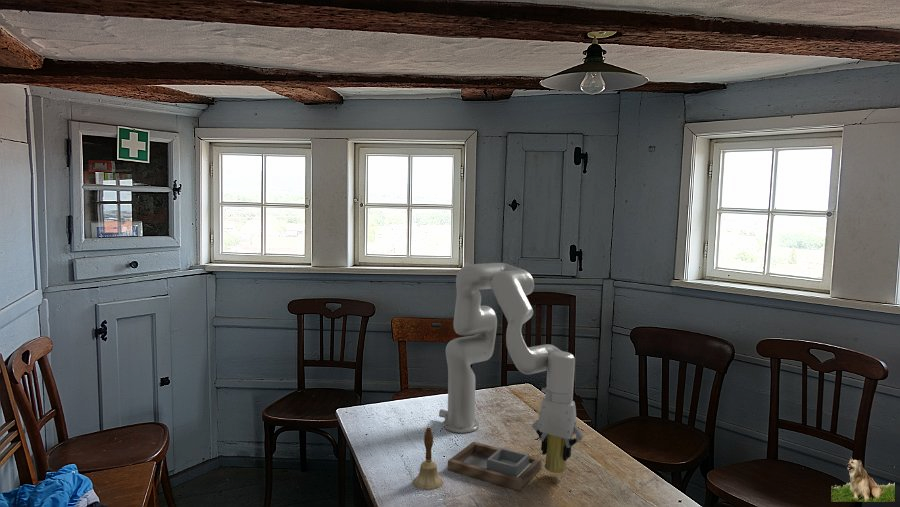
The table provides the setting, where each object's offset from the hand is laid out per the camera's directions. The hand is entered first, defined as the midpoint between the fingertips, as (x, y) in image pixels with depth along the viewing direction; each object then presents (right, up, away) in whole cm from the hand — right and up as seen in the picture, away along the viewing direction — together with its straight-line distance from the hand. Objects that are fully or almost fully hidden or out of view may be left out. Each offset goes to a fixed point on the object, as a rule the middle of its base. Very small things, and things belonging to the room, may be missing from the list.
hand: (555, 455), depth 165 cm
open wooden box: (-17, -6, +4) cm, 19 cm away
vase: (0, -4, 0) cm, 4 cm away
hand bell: (-37, -7, -4) cm, 37 cm away
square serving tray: (-14, -6, +2) cm, 15 cm away
